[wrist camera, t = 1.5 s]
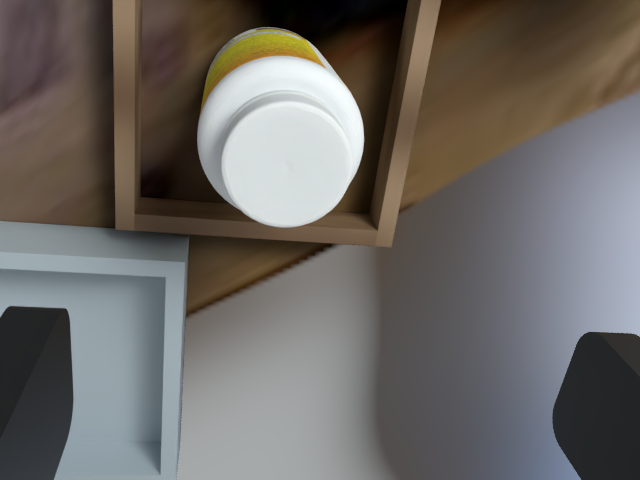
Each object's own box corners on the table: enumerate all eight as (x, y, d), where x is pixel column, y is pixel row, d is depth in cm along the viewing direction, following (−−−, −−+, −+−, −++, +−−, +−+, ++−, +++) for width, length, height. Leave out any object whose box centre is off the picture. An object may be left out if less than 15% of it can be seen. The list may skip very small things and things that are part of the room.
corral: (120, -91, 23) (111, -94, 21) (434, -44, 25) (449, -43, 24) (122, 211, 29) (115, 229, 27) (382, 229, 31) (391, 247, 29)
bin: (-121, 213, 27) (-160, 242, 25) (189, 233, 29) (185, 262, 27) (-78, 443, 33) (-105, 487, 30) (180, 445, 35) (175, 486, 33)
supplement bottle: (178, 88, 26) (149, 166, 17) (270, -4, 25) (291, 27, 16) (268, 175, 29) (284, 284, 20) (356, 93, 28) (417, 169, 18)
